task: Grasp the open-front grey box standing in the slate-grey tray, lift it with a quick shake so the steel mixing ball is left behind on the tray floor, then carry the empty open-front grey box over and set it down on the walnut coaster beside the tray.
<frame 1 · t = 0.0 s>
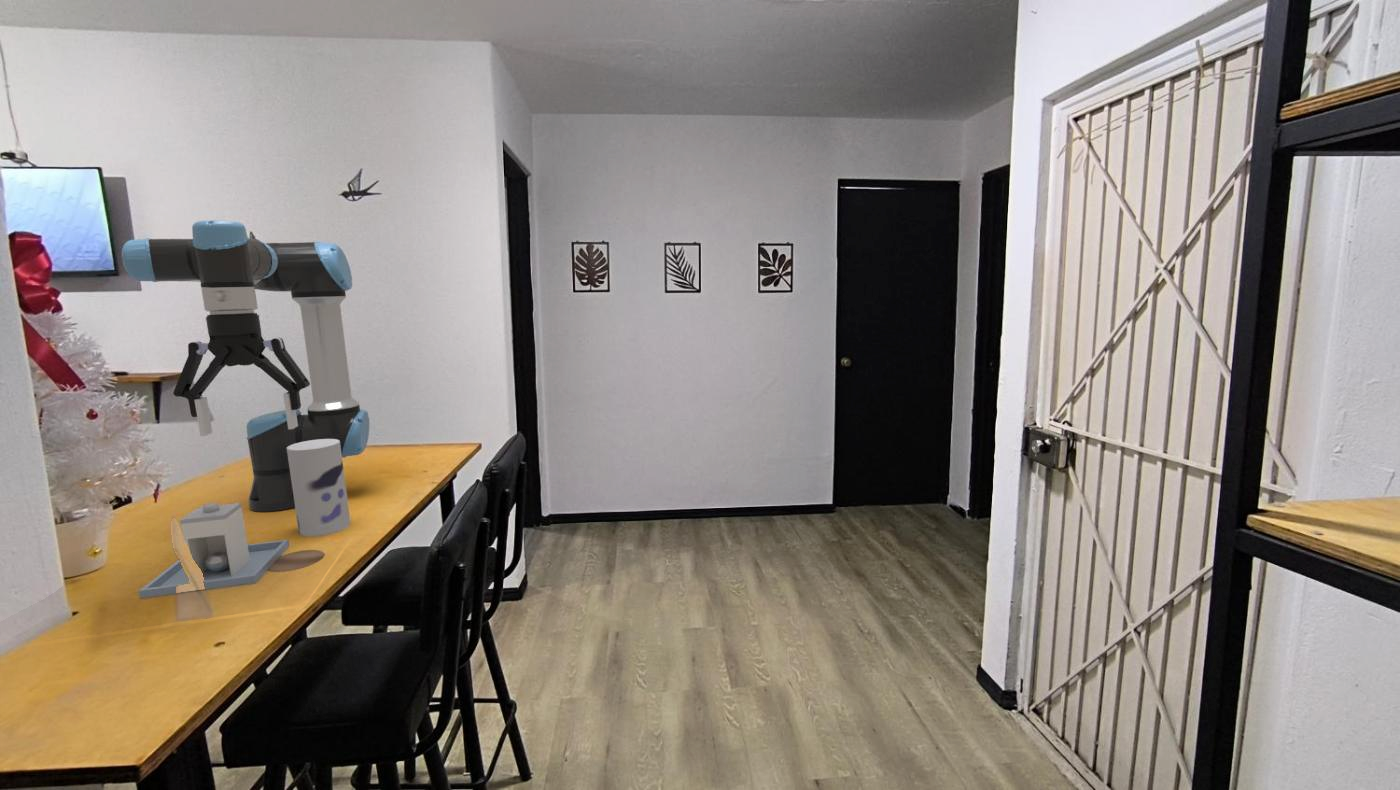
hand: (250, 431, 114), 28 cm above the table, fingers open, 13 cm apart
container: (325, 531, 141), on the table
ball: (220, 570, 120), point 1 cm above the table, touching tray
open-front grey box: (221, 569, 121), point 1 cm above the table, touching tray
coaster: (295, 563, 124), on the table
tray: (222, 572, 121), on the table
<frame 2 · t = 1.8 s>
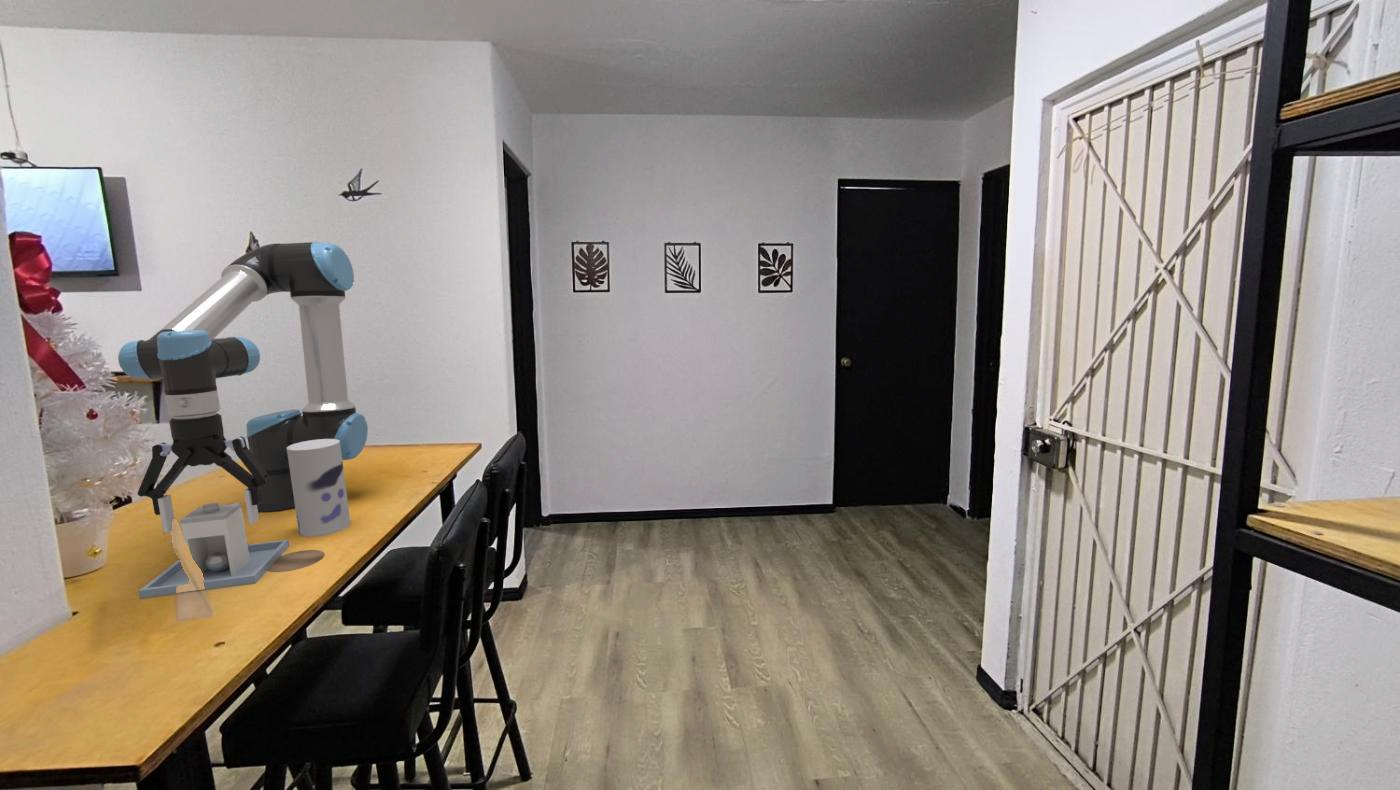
hand: (212, 526, 119), 10 cm above the table, fingers open, 13 cm apart
nothing on the table moved.
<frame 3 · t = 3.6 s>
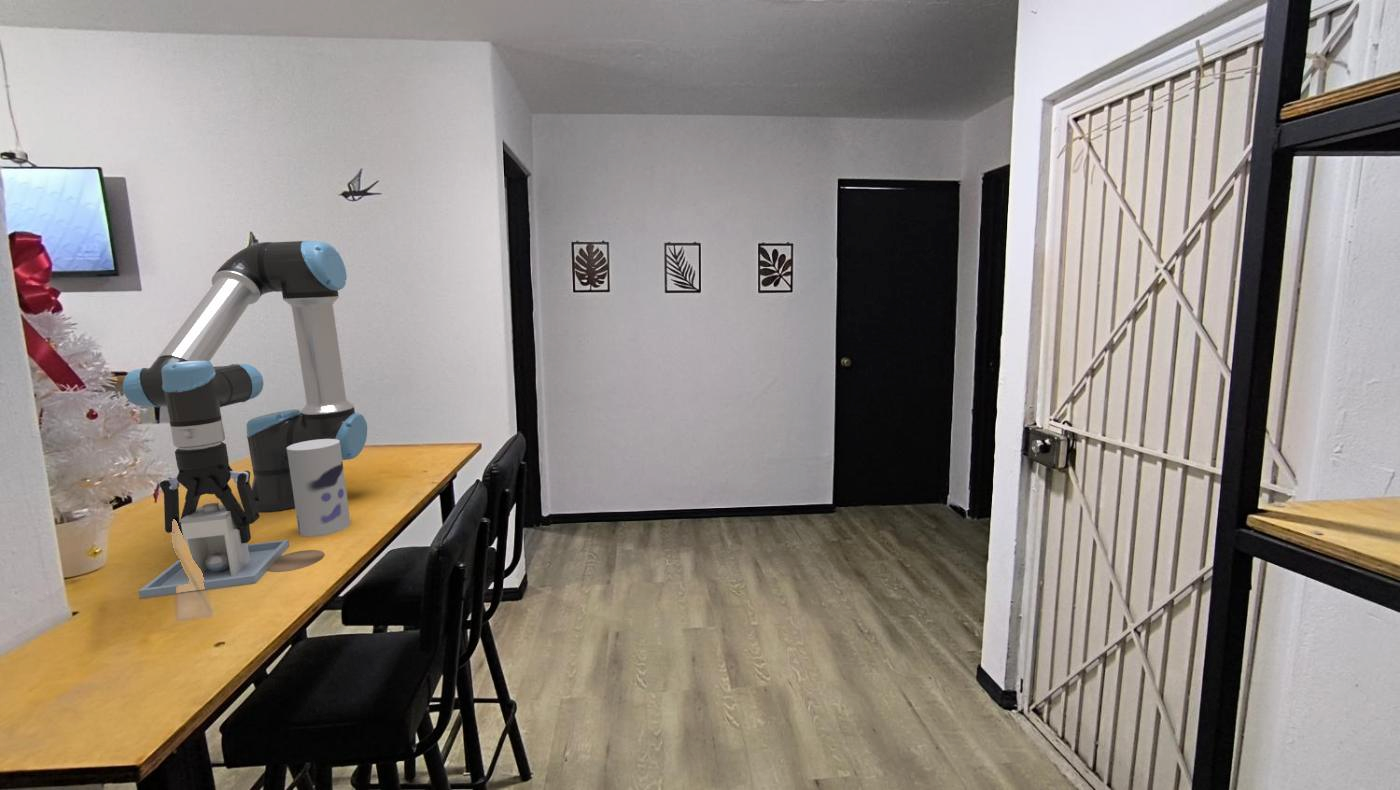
hand: (220, 561, 120), 2 cm above the table, fingers closed on open-front grey box, 7 cm apart
open-front grey box: (221, 569, 121), point 1 cm above the table, touching gripper, tray
everything else where it was.
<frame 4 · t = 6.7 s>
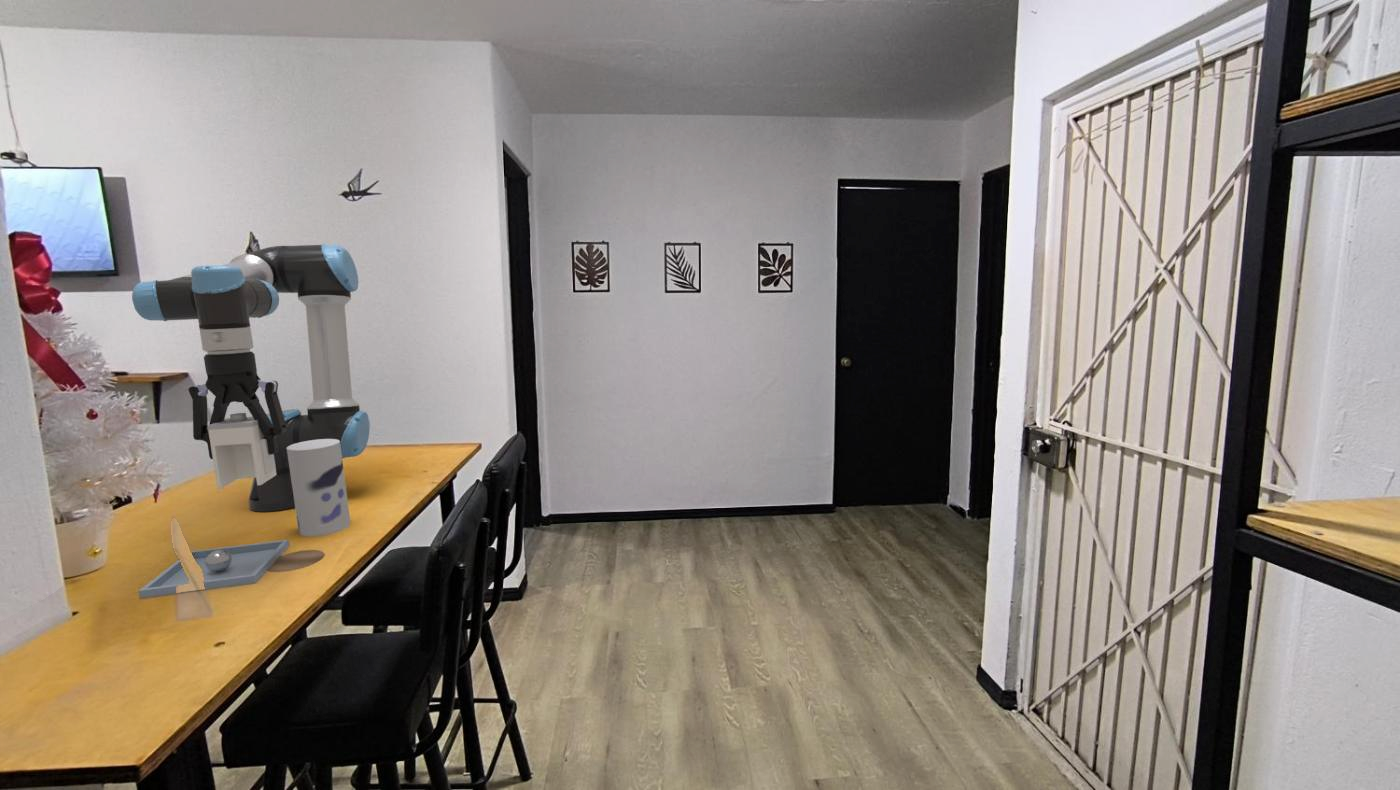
hand: (247, 473, 119), 19 cm above the table, fingers closed on open-front grey box, 7 cm apart
open-front grey box: (248, 481, 119), point 18 cm above the table, touching gripper
everything else where it was.
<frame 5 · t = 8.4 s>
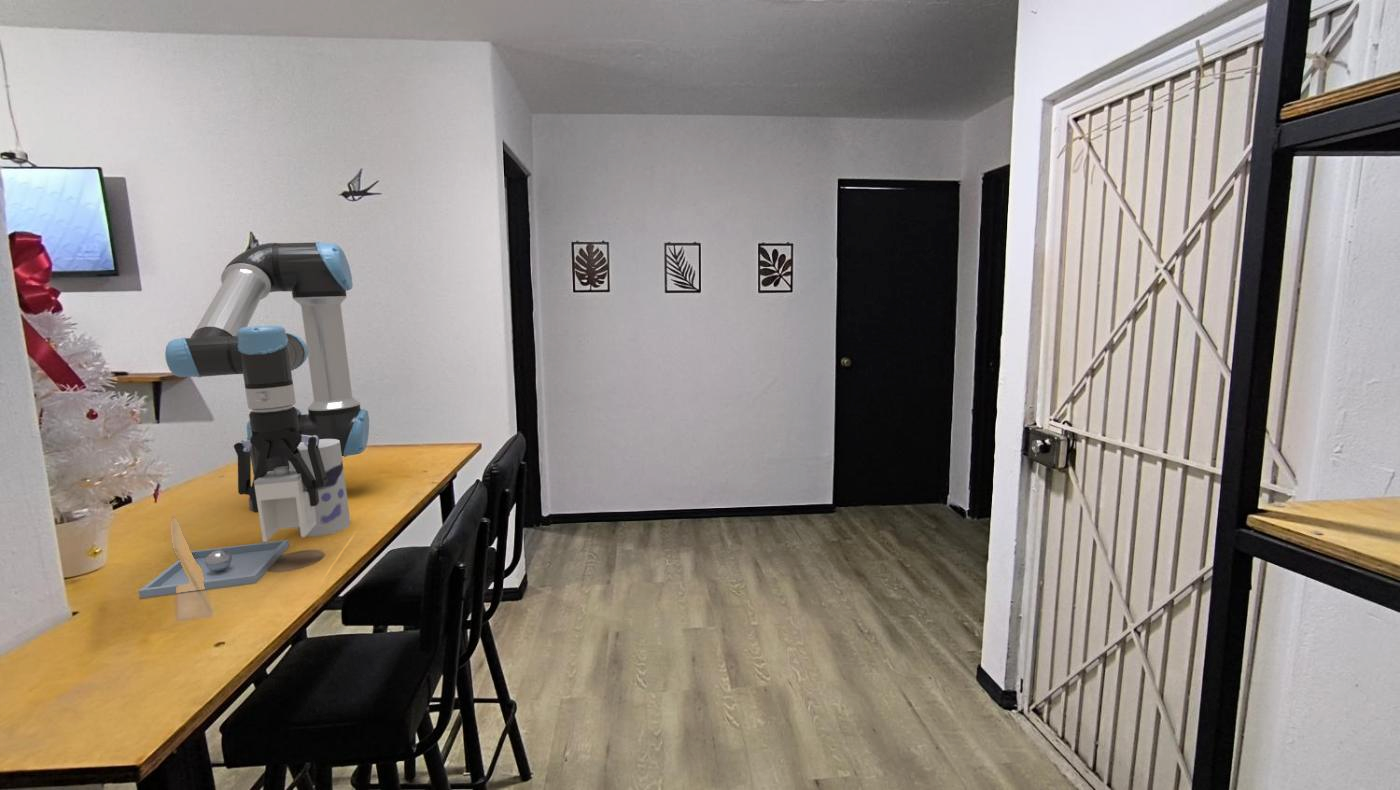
hand: (289, 524, 122), 8 cm above the table, fingers closed on open-front grey box, 7 cm apart
open-front grey box: (290, 532, 123), point 6 cm above the table, touching gripper
everything else where it was.
when the fingers open (3 cm above the table, at t = 9.9 s): open-front grey box drops 1 cm, resting on coaster.
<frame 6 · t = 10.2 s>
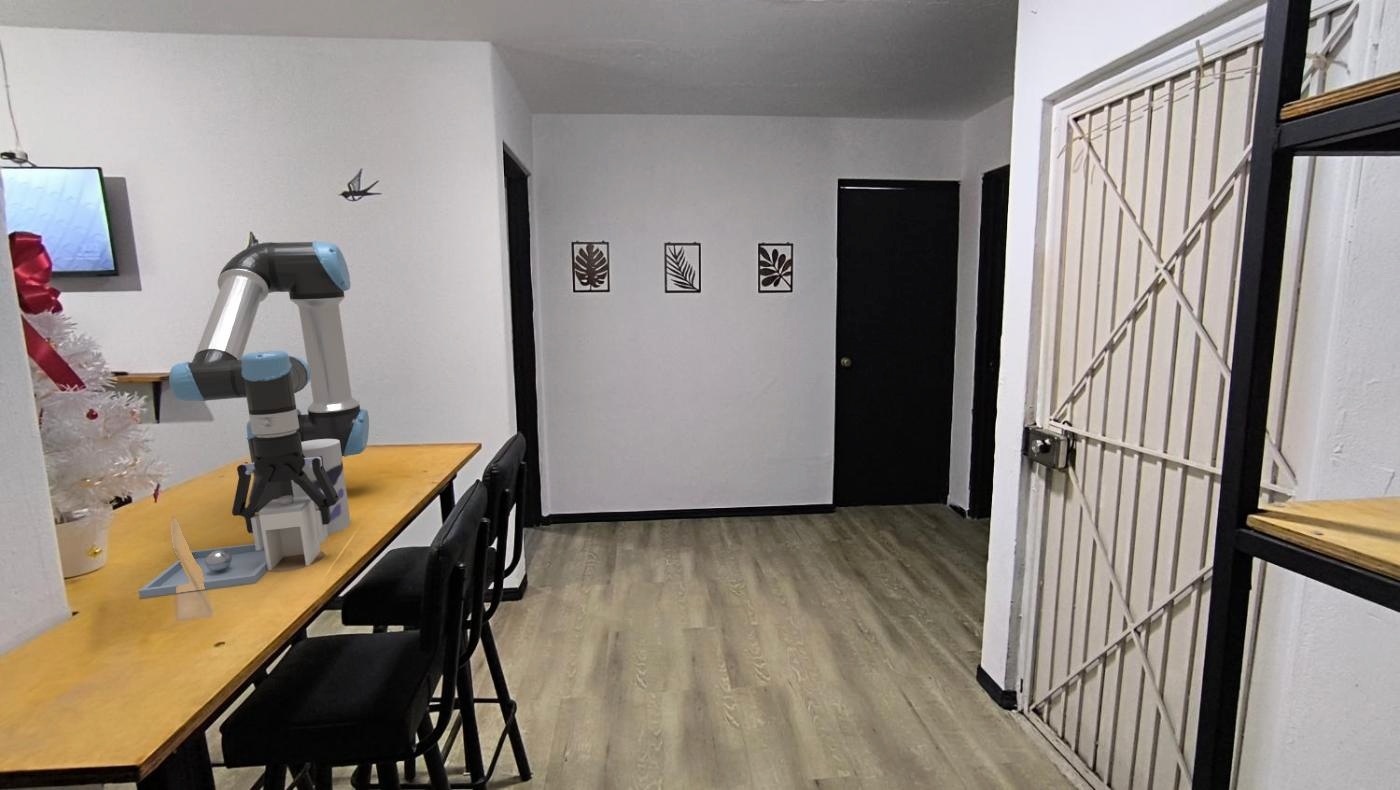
hand: (292, 543, 123), 4 cm above the table, fingers open, 10 cm apart
open-front grey box: (295, 560, 124), point 1 cm above the table, touching coaster
everything else where it was.
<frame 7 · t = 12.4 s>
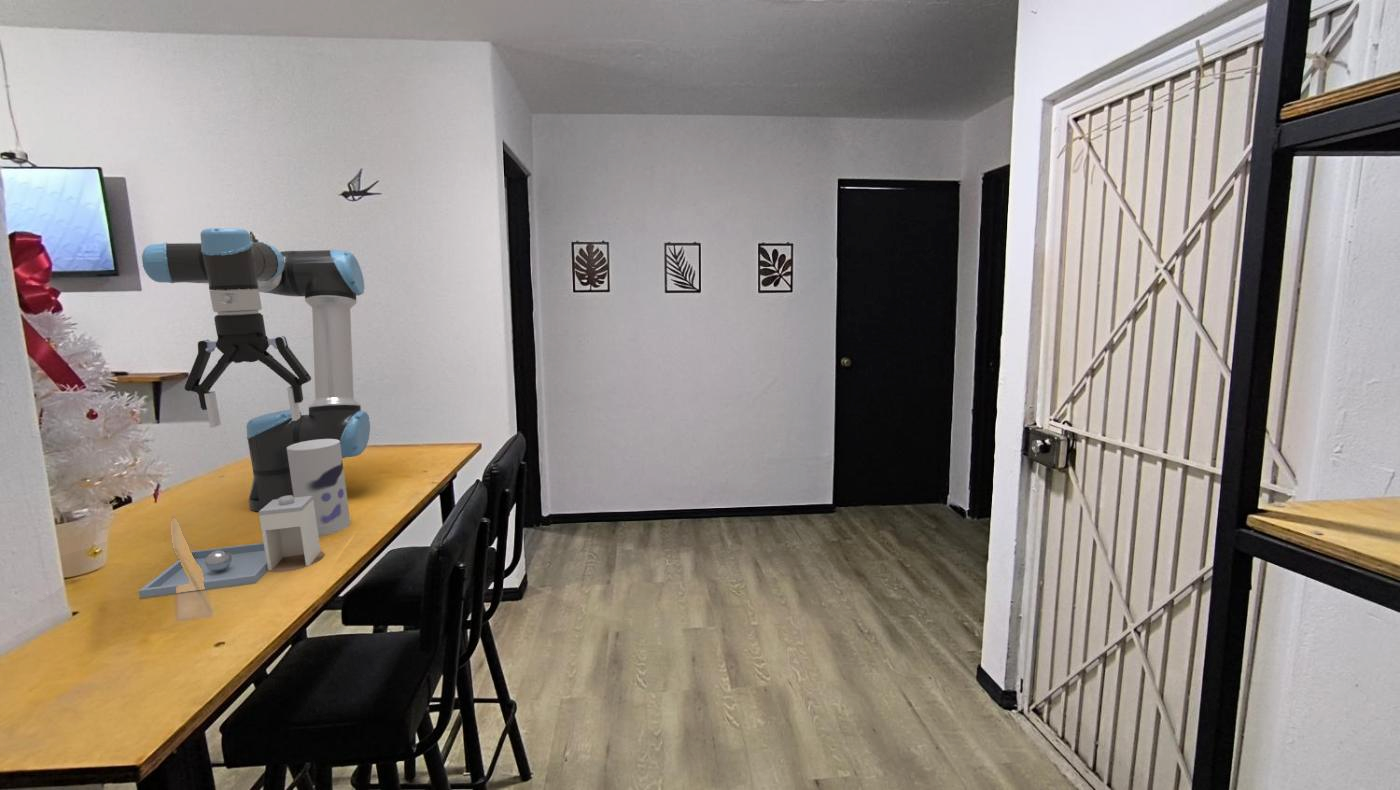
hand: (256, 422, 123), 28 cm above the table, fingers open, 13 cm apart
nothing on the table moved.
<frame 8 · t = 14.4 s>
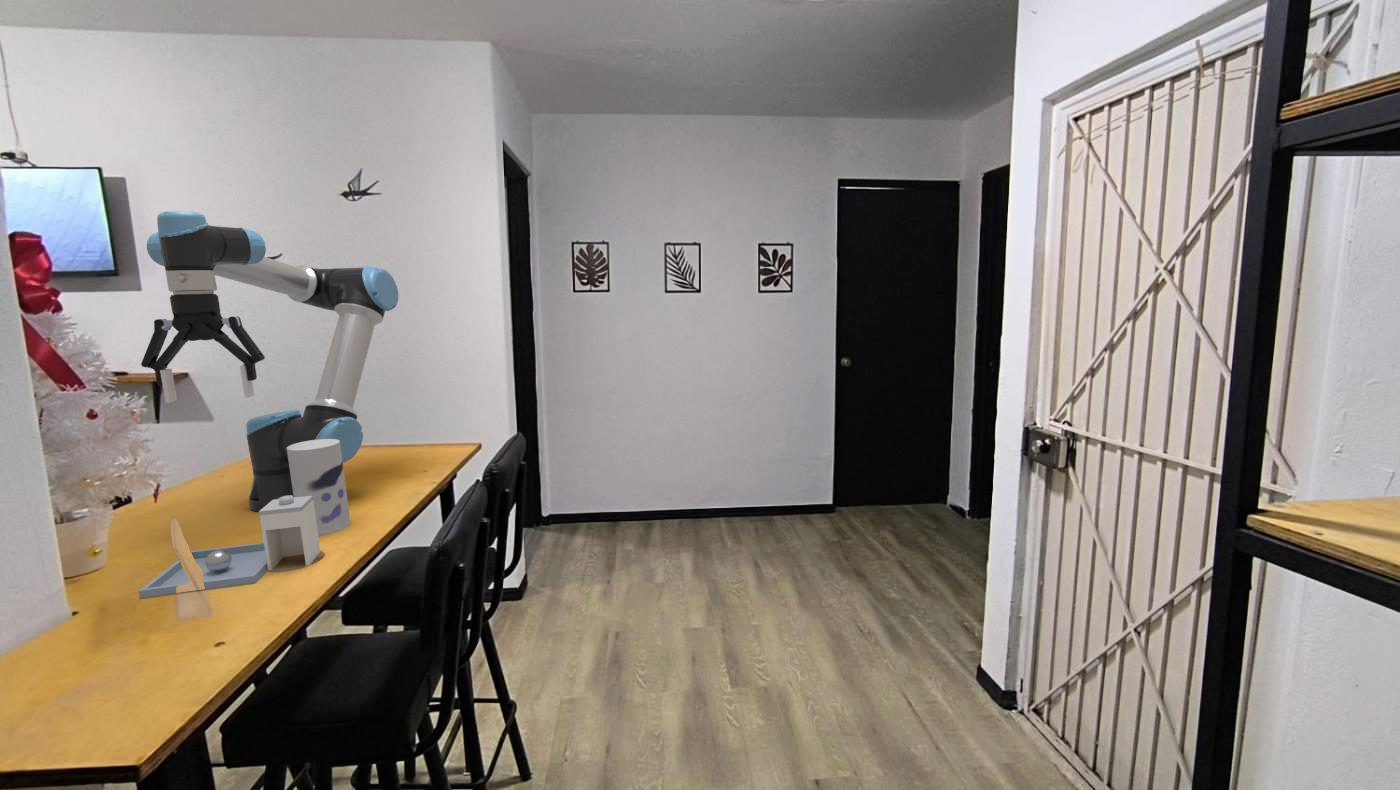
hand: (211, 399, 128), 32 cm above the table, fingers open, 13 cm apart
nothing on the table moved.
at the end: ball inside the target area on the tray (0.5 cm from its centre), point 0.6 cm above the tray's base; open-front grey box 0.1 cm from the coaster (horizontally); open-front grey box tilted 0° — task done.
